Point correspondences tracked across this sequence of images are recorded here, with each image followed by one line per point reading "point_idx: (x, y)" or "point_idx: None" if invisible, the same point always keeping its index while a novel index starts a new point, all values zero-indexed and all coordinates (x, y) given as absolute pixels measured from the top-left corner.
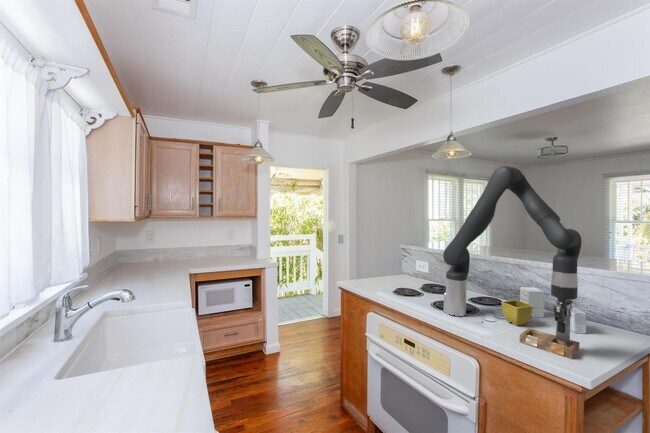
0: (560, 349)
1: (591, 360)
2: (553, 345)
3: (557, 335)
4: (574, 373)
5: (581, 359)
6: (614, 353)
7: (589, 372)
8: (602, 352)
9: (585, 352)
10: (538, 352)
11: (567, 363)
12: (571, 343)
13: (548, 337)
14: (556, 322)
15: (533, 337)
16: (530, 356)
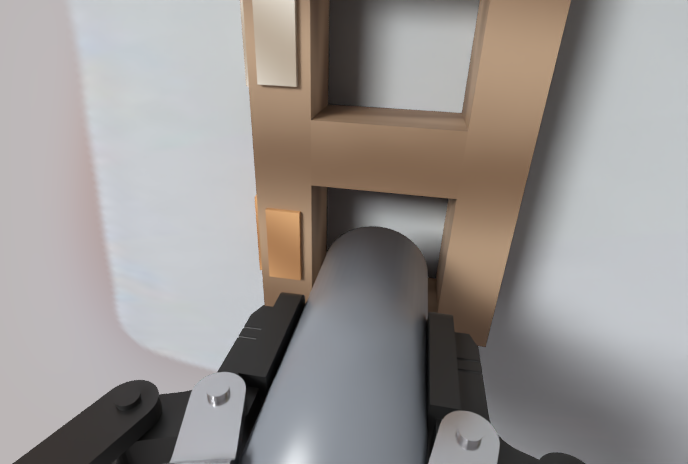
0: (259, 248)
1: None
2: (261, 210)
3: (326, 260)
4: (116, 298)
5: None
6: (583, 440)
7: (192, 344)
8: (550, 398)
9: None
10: (200, 107)
11: (200, 266)
12: (438, 299)
13: (406, 153)
14: (315, 336)
15: (264, 44)
16: (82, 82)
